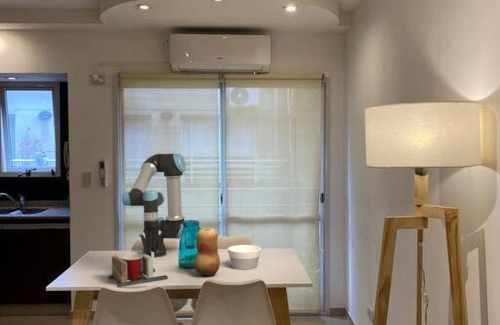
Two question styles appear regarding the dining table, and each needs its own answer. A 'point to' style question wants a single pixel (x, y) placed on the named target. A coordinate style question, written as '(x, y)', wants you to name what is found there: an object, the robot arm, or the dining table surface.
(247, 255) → the bowl
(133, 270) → the plastic cup
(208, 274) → the butternut squash
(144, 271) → the block
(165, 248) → the robot arm
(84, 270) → the dining table surface
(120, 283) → the vise bed
